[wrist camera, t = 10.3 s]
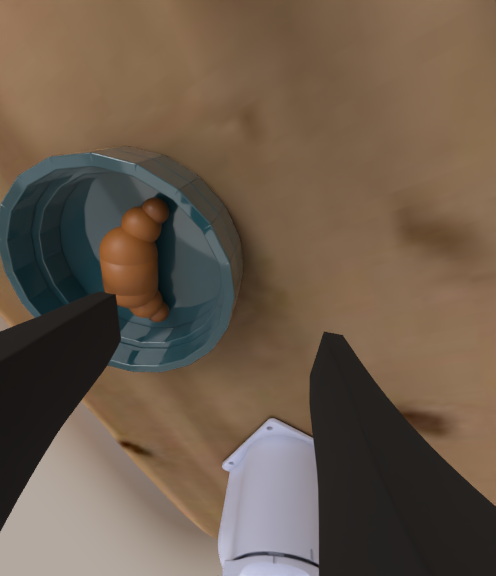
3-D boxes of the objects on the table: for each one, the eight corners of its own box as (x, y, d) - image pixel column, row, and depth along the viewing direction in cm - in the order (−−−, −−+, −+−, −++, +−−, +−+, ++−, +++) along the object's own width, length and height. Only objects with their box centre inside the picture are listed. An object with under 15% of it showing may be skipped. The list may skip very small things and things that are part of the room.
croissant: (123, 306, 22) (98, 334, 19) (112, 186, 17) (78, 199, 15) (172, 315, 22) (154, 345, 19) (173, 197, 17) (150, 212, 15)
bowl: (192, 360, 24) (176, 400, 21) (34, 278, 22) (-13, 308, 19) (284, 226, 18) (282, 252, 14) (74, 94, 16) (13, 88, 12)
